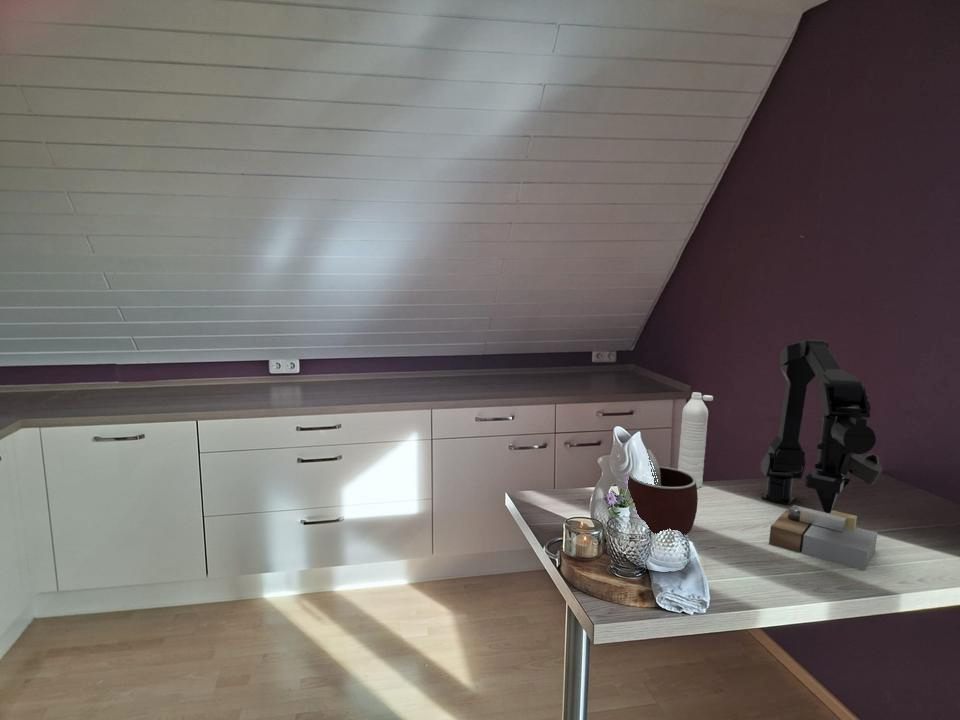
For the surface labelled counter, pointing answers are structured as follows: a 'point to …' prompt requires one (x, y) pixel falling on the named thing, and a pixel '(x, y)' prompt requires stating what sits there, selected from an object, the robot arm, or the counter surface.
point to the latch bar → (817, 518)
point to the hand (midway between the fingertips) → (827, 512)
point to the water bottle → (694, 437)
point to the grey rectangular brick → (841, 543)
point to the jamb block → (788, 533)
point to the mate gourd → (665, 499)
